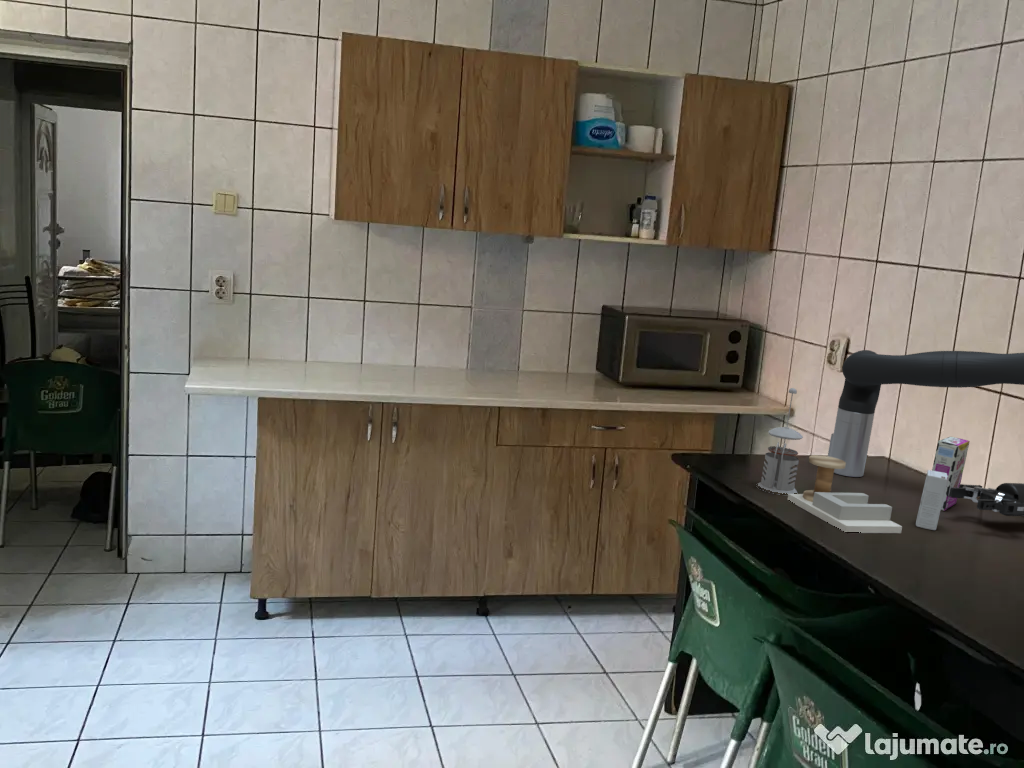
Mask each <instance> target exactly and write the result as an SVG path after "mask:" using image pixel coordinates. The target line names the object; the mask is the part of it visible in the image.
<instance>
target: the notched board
mask: <svg viewBox="0 0 1024 768" xmlns="http://www.w3.org/2000/svg"><path fill="white" fill-rule="evenodd" d="M869 497H870V495H868V494H866V493H864V492H837V491H836V492H814V497H813V502H811V501H808V500H806V499H804V498H803V493H797V494H788V495H787V501H788V500H790V501H791V502H790V501H789V502H790V503H792V502H793V504H794V503H795V504H794V505H796V506H797V507H799V508H800V509H803V510H804V511H806V512H808V513H810V514H812V515H813V516H815V517H817V518H818V519H821V520H822V521H823V522H826V523H827V522H828V524H829V525H831V526H833V527H834V526H835V528H836V527H837V528H836V529H838V528H839V529H838V530H840V529H841V530H840V531H841V532H843V531H844V532H843V533H845V532H859V533H858V534H902V532H903V531H902V529H903V526H902V525H900V524H899V523H896V522H895V521H892V520H891V517H892V512H893V511H892V510H893V506H891V505H888V504H885V503H869ZM860 532H861V533H860Z"/></svg>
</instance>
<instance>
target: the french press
mask: <svg viewBox="0 0 1024 768" xmlns="http://www.w3.org/2000/svg"><path fill="white" fill-rule="evenodd" d="M797 392H798V391H797V389H796V388H794V387H792V388H791V387H790V388H789V389H788V393H789V394H791V397H790V404H789V409H788V415H787V422H786V426H783V427H782V426H779V427H774V428H772V429H770V430H768V435H770V436H771V437H774V438H778V439H783V446H780V441H779V442H777V443H776V445H775V446H772V445H771V446H768V447H767V450H768V451H769V452H765V456H764V459H765V460H766V461H765V460H764V461H763V464H764V465H763V467H762V469H763V470H762V476H761V481H760V482H758V483H757V484H758V486H760V487H761V488H764V489H766V490H770V491H772V492H778V493H782V494H783V493H785V494H786V493H787V494H794V493H797V494H798V491H797V489H796V488H795V485H796V479H797V478H796V476H797V473H798V472H797V471H798V466H799V458H798V457H797V456H798V454H799V452H798V451H797V450H795V449H792V448H789V447H788V448H787V443H786V440H789V441H790V440H791V441H797V440H802V439H803V438H804V436H803V435H802V434H801V433H800V432H799V431H797V430H796V429H793V428H790V427H789V426H788V425H789V420H790V414H791V408H792V401H793V394H794V395H796V394H797ZM792 472H793V473H792ZM791 482H792V483H791Z"/></svg>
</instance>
